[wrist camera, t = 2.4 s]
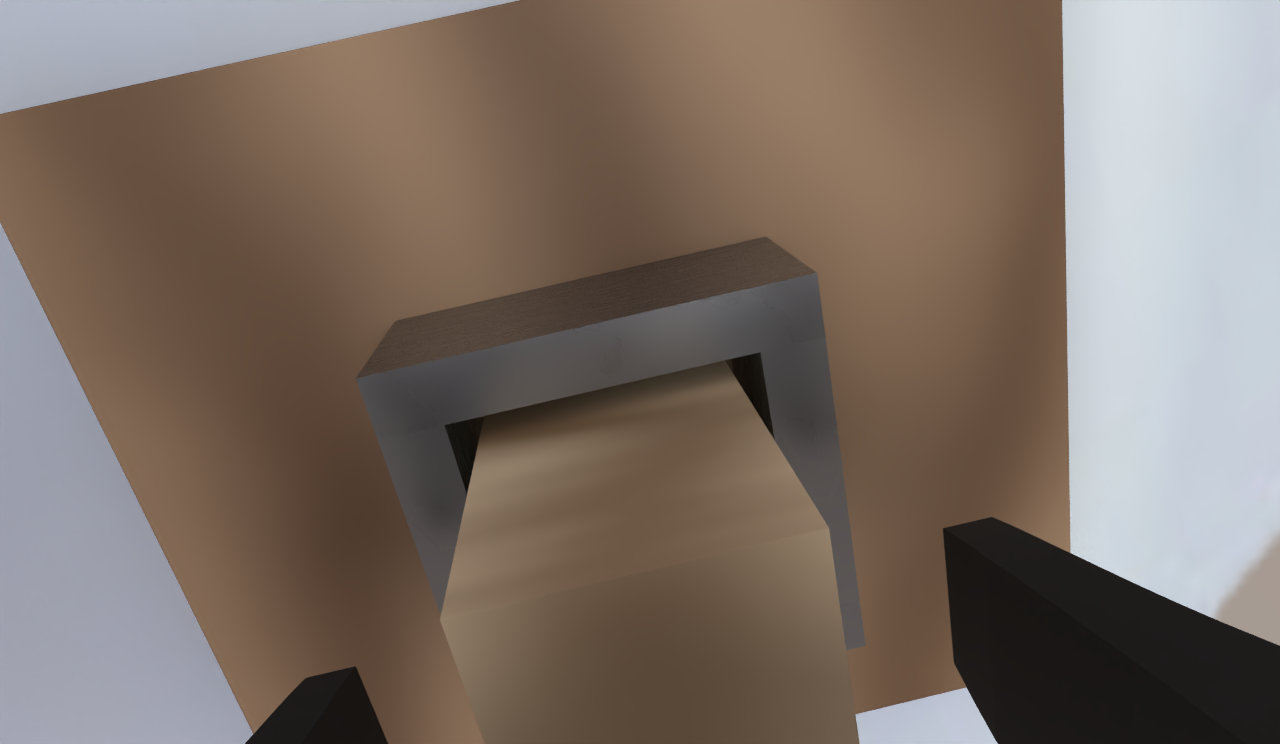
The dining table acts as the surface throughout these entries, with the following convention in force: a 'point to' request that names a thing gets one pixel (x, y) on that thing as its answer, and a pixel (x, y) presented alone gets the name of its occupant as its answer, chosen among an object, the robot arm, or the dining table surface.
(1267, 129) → the dining table surface
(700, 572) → the post
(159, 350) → the board
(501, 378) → the sleeve
